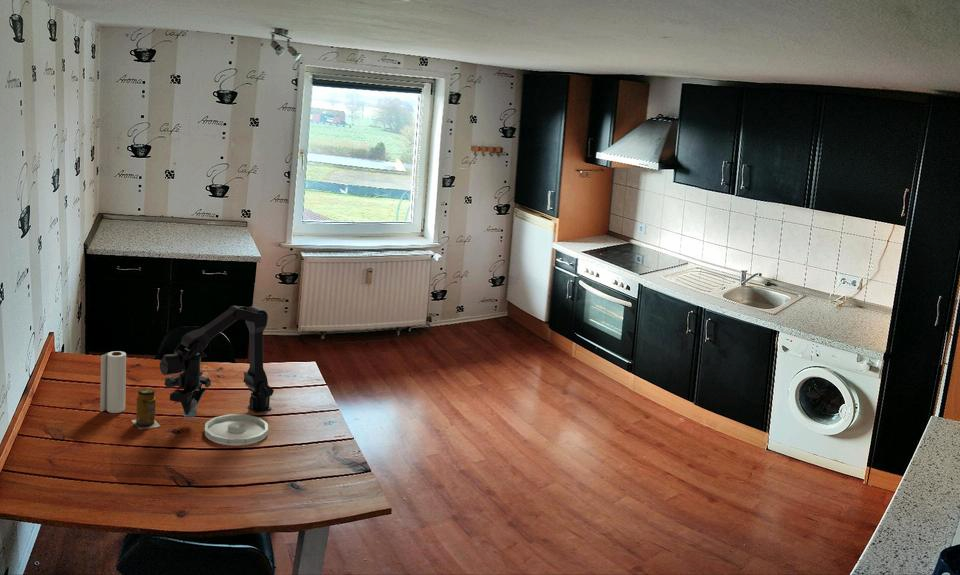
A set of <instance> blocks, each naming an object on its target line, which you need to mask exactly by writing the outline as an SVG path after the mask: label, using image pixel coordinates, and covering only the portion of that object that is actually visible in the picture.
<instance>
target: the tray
mask: <svg viewBox="0 0 960 575" xmlns="http://www.w3.org/2000/svg"><path fill="white" fill-rule="evenodd" d="M268 434H269V424H268V422H266V421H265V420H264V419H262V418H261V417H259V416H254V415H250V414H246V413H245V414H244V413H242V414H241V413H238V414H236V413H235V414H234V413H232V414H230V413H228V414H224V415H220V416H215V417H212V418H210V419H209V420H208V421H206V422H205V423H204V436H205V437H206V439H208V440H209V441H211V442H213V443H216V444H219V445H223V446H232V447H233V446H236V447H238V446H239V447H241V446H248V445H253V444H257V443H260V442H261V441H263V440H264V439H265V438H266V437H267V436H268Z"/></svg>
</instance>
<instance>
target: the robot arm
mask: <svg viewBox="0 0 960 575" xmlns="http://www.w3.org/2000/svg"><path fill="white" fill-rule="evenodd" d="M268 319H269V316H268V313H267V312H266V310H263V309H262V308H259V307H258V306H255V305H251V306H247V307H246V306H240V305H239V306H238V305H231V306H230V307H228V309H227V310H225V311H224V312H222V313H221V314H220V315H218V316H216V318H213V320H211V321H210V322H208V323H207V324H206V325H204V326H202V327H201V328H197V329H193V330H191V331H189V332H187V333H185V334H184V335H183V336H182V337H181V341H180V342H179V343H178V345H177V346H176V348H175V349H174V351H173V352H174V353H169V354H167V353H166V354H163V356H162V358H161V360H160V361H159V370H160V372H161V374H162V376H169V375H170V376H169V377H166V378H165V379H164V384H163V385H164V386H165V387H166V388H168V389H172V388H175V387H178V388H177V389H175V390H174V391H172V392H171V393H170V394H169V401H171V402H176V403H177V402H178V403H180V404H181V407H182V410H184V413H185V414H186V415H188V414H189V412H190V409H191V407H192V404H193V402H194V400H197V406H198V404H199V402H200V400H201V399H202V397H203V396H204V394H205V392H206V391H207V388H209V387H211V386H212V380H211V379H210V377H208V376H206V377H205V376H203V371H201V363H202V361H201V360H202V358H207V357H208V355H207V354H206V353H205V352H204V349H205V348H207V346H208V345H209V343H210V341H211V340H212V339H213V338H214V337H216V336H218V334H220V333H221V332H223V331H224V330H225V329H227V328H228V327H229V326H231V325H233V324H234V323H235V322H236V321H238V320H243V321H245V325H246V327H247V329H248V332H249V333H248V336H249V338H248V339H249V349H248V351H249V368H248V370H246V371H244V372H243V377H244V378H243V380H242V382H243V383H244V384H245V386H246V387H247V388H248V391H249V392H251V393H250V397H249V405H247V408H249V409H250V410H252V411H253V412H255V413H256V414H257V413H262V412H266V411H270V410H272V407H270V399H271V397H272V396H273V394H274V389H273V388H272V387H271V386H270V385H269V381H268V377H267V376H268V375H267V374H266V371H265V369H264V330H265V329H266V327H267V325H268ZM185 350H186V351H185ZM178 373H179V374H178ZM174 374H175V375H174ZM203 385H204V387H205V388H203Z"/></svg>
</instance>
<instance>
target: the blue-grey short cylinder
mask: <svg viewBox="0 0 960 575" xmlns="http://www.w3.org/2000/svg"><path fill="white" fill-rule="evenodd" d="M197 408H198V405H197V400H194V402H193V404H192V407H191V409H190V412H189V414H188V415H186V414H185V413H184V410H183V409H182V410H183V411H182V415H183V417H185V418H195V417H196V416H198V415H197V414H198V413H197V411H198V409H197Z"/></svg>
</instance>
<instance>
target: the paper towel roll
mask: <svg viewBox="0 0 960 575" xmlns="http://www.w3.org/2000/svg"><path fill="white" fill-rule="evenodd" d="M126 368H127V353H126V352H125V351H121V350H119V351H118V350H116V351H114V350H113V351H110V352H106V353H105V354H102V355H100V398H99V399H100V404H99V405H100V407H99V410H100V413H101V412H104V411H107V412H108V413H111V414H120V413H123V412H124V411H125V409H126V380H127V379H126V378H127V376H126V375H127V369H126Z"/></svg>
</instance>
